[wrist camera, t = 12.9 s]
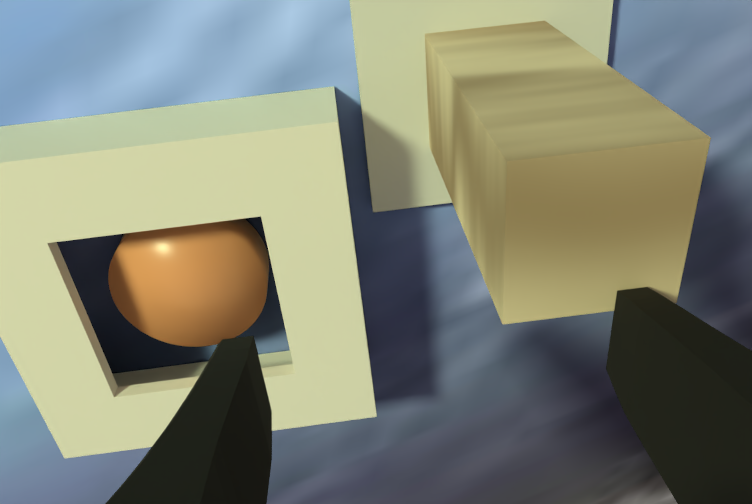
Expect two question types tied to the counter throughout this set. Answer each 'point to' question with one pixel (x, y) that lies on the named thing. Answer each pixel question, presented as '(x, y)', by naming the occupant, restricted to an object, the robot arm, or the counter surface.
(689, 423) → the robot arm
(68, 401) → the cream square frame
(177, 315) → the button
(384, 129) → the rubber mat
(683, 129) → the wood grain block
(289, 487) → the counter surface
